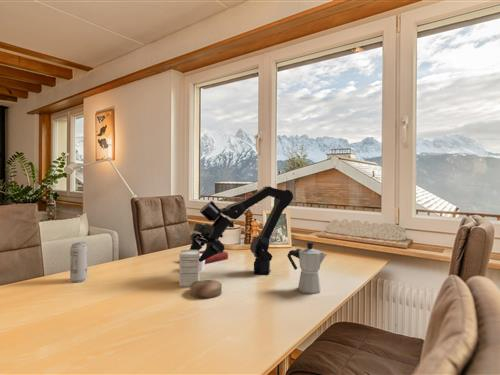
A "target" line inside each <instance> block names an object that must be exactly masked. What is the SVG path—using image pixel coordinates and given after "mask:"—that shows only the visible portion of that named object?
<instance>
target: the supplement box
mask: <svg viewBox="0 0 500 375" xmlns="http://www.w3.org/2000/svg"><path fill="white" fill-rule="evenodd" d="M200 251H201V249H200V250H190V249H182V250H180V252H179V256H178V257H179V264H178V265H179V267H178V268H179V270H178V271H179V277H178V278H179V282H178V284H179V287H187V288H188V287H191V284H192V283H194V282H196V281H200V272H199V256H200Z"/></svg>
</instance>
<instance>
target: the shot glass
mask: <svg viewBox="0 0 500 375" xmlns="http://www.w3.org/2000/svg"><path fill="white" fill-rule="evenodd" d="M201 255H202V253H200V256H199V258H200V257H201ZM205 265H206V264H205V260H204V261H202V262H200V261H199V273H202V272H204V271H205Z"/></svg>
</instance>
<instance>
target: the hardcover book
mask: <svg viewBox="0 0 500 375" xmlns="http://www.w3.org/2000/svg"><path fill="white" fill-rule="evenodd" d="M204 251H205V249H204V250H200V253H202V254H203V252H204ZM228 259H229V252H228V251H225V250H224V251H223V252H222V253H220V252H219V254H216V255H213V256H211V257H209V258H207V259H205V265H207V264H212V263H216V262H221V261H225V260H228Z"/></svg>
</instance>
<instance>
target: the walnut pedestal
mask: <svg viewBox="0 0 500 375" xmlns="http://www.w3.org/2000/svg"><path fill="white" fill-rule="evenodd" d="M222 284H223V283H222V282H220V281H218V280H214V279H202V280H201V279H199V281H196V282H194V283H192V284H191V286H190V296H192V297H194V298H196V299H202V300H203V299H205V300H208V299H214V298H218V297H219V296H220V295H222V292H223V291H222V288H223V285H222Z"/></svg>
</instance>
